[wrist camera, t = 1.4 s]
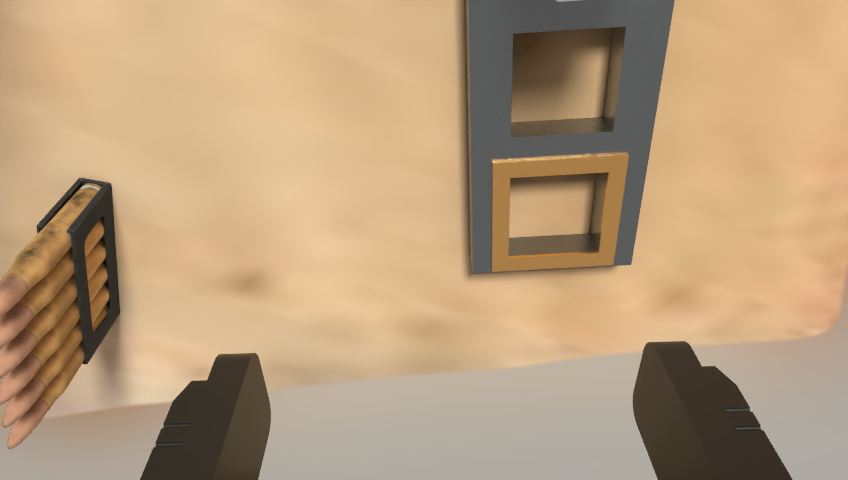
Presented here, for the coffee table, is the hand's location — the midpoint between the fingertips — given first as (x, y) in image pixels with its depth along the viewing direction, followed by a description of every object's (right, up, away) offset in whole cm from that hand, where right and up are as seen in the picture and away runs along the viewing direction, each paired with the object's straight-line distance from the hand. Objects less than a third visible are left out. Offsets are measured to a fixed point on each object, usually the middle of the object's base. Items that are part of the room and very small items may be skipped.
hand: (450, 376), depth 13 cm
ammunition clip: (-22, +2, +27) cm, 35 cm away
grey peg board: (+7, +12, +21) cm, 25 cm away
